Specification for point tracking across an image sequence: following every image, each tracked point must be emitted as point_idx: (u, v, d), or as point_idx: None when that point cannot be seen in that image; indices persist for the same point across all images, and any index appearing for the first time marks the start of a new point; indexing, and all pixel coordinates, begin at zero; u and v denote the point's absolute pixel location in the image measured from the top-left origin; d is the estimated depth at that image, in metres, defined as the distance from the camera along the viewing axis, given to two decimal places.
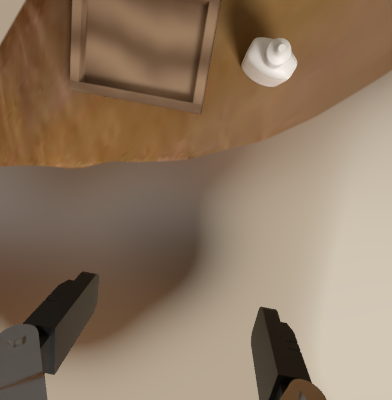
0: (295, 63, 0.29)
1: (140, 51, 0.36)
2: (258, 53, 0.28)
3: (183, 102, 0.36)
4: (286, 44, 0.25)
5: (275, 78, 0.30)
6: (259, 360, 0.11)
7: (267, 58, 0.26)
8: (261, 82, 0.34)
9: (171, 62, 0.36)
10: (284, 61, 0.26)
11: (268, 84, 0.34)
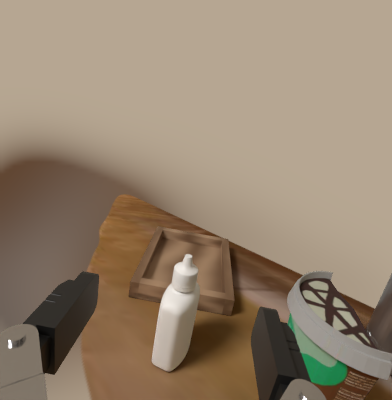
0: (177, 309, 0.25)
1: None
2: None
3: (142, 272, 0.38)
4: (193, 270, 0.26)
5: (162, 298, 0.26)
6: (259, 360, 0.11)
7: None
8: None
9: None
10: (177, 271, 0.25)
11: None
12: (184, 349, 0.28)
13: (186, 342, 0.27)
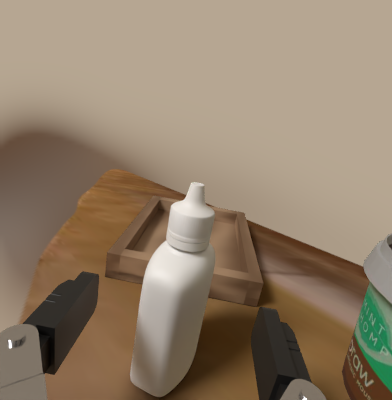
0: (175, 280, 0.13)
1: None
2: None
3: (127, 242, 0.26)
4: (205, 211, 0.14)
5: None
6: (259, 360, 0.11)
7: None
8: None
9: None
10: (177, 210, 0.14)
11: None
12: (187, 357, 0.16)
13: (191, 345, 0.16)
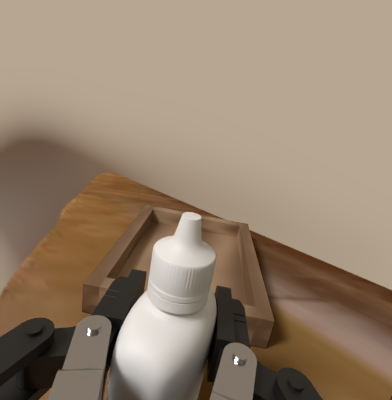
0: (158, 364, 0.09)
1: None
2: None
3: (110, 268, 0.22)
4: (203, 256, 0.09)
5: None
6: None
7: None
8: None
9: None
10: (161, 255, 0.09)
11: None
12: None
13: None
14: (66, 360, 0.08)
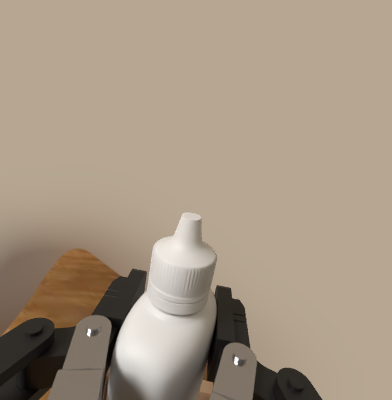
0: (157, 365, 0.09)
1: None
2: None
3: None
4: (202, 256, 0.09)
5: None
6: None
7: None
8: None
9: None
10: (161, 256, 0.09)
11: None
12: None
13: None
14: (66, 361, 0.08)
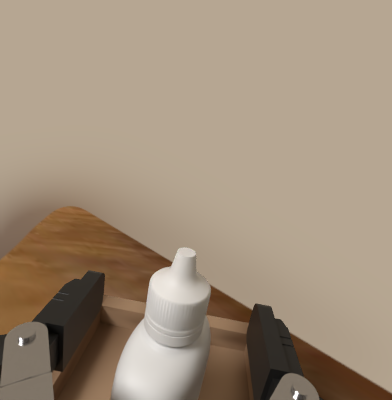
0: (157, 399, 0.09)
1: None
2: None
3: None
4: (198, 290, 0.10)
5: (119, 360, 0.11)
6: (253, 356, 0.11)
7: None
8: None
9: None
10: (158, 292, 0.10)
11: None
12: None
13: None
14: (2, 377, 0.07)
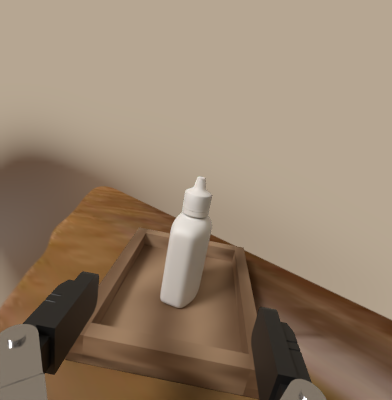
0: (190, 232, 0.22)
1: None
2: None
3: (96, 310, 0.21)
4: (206, 193, 0.23)
5: None
6: (259, 360, 0.11)
7: None
8: None
9: (160, 315, 0.24)
10: (190, 193, 0.23)
11: None
12: (195, 285, 0.25)
13: (198, 277, 0.25)
14: None
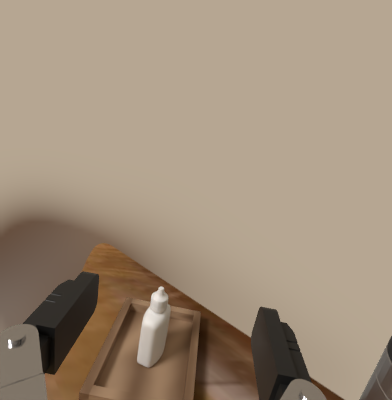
0: (153, 325, 0.37)
1: None
2: None
3: (96, 375, 0.35)
4: (164, 298, 0.38)
5: (143, 317, 0.38)
6: (259, 360, 0.11)
7: (155, 292, 0.39)
8: None
9: (136, 373, 0.38)
10: (154, 298, 0.38)
11: None
12: (159, 351, 0.40)
13: (160, 347, 0.40)
14: None
